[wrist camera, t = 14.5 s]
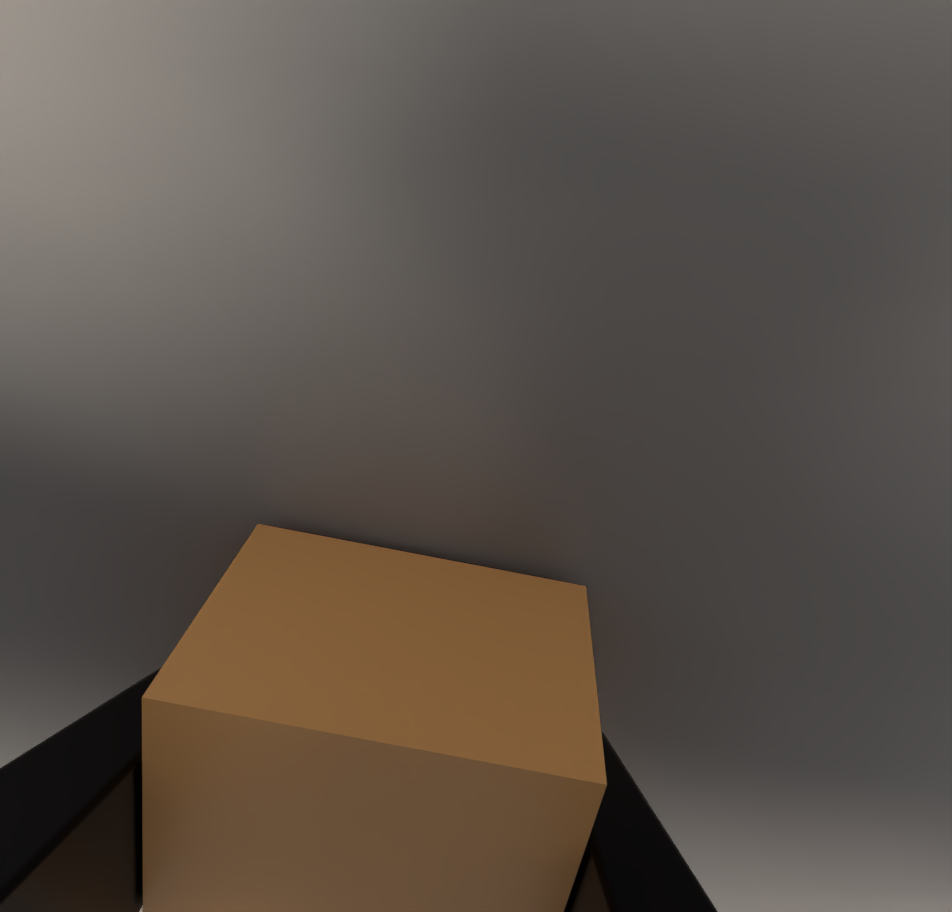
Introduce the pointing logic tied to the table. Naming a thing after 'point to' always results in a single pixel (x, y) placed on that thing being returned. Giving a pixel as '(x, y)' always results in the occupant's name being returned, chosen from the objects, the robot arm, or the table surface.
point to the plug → (371, 737)
